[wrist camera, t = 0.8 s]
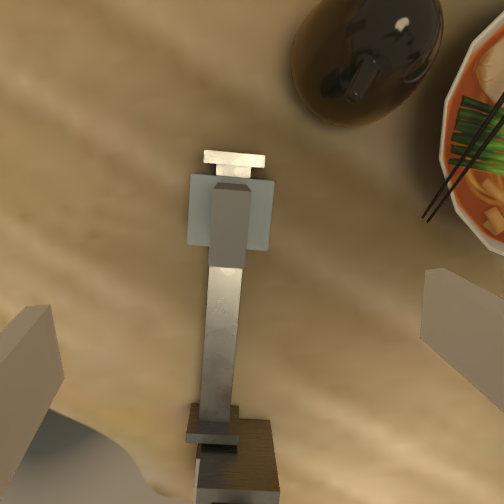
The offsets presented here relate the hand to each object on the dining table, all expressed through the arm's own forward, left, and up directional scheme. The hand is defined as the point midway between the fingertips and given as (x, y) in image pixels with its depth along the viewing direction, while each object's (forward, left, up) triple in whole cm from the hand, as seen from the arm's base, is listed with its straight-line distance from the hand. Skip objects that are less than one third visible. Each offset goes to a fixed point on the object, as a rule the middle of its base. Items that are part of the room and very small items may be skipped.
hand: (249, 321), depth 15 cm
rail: (+1, +7, -26) cm, 27 cm away
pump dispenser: (-8, -14, -27) cm, 31 cm away
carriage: (+1, -1, -26) cm, 26 cm away
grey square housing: (-2, +25, -26) cm, 36 cm away
